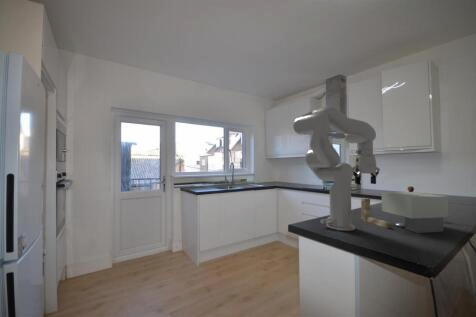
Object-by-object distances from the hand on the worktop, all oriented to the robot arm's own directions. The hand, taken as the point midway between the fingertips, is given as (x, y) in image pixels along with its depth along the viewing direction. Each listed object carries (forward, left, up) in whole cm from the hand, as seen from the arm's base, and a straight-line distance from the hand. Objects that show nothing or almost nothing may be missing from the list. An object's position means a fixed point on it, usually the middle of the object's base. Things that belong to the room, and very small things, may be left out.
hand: (365, 183), depth 117 cm
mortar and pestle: (+32, +3, -20) cm, 38 cm away
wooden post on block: (0, -7, -20) cm, 21 cm away
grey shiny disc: (+11, -11, -20) cm, 26 cm away
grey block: (+14, -14, -20) cm, 28 cm away
